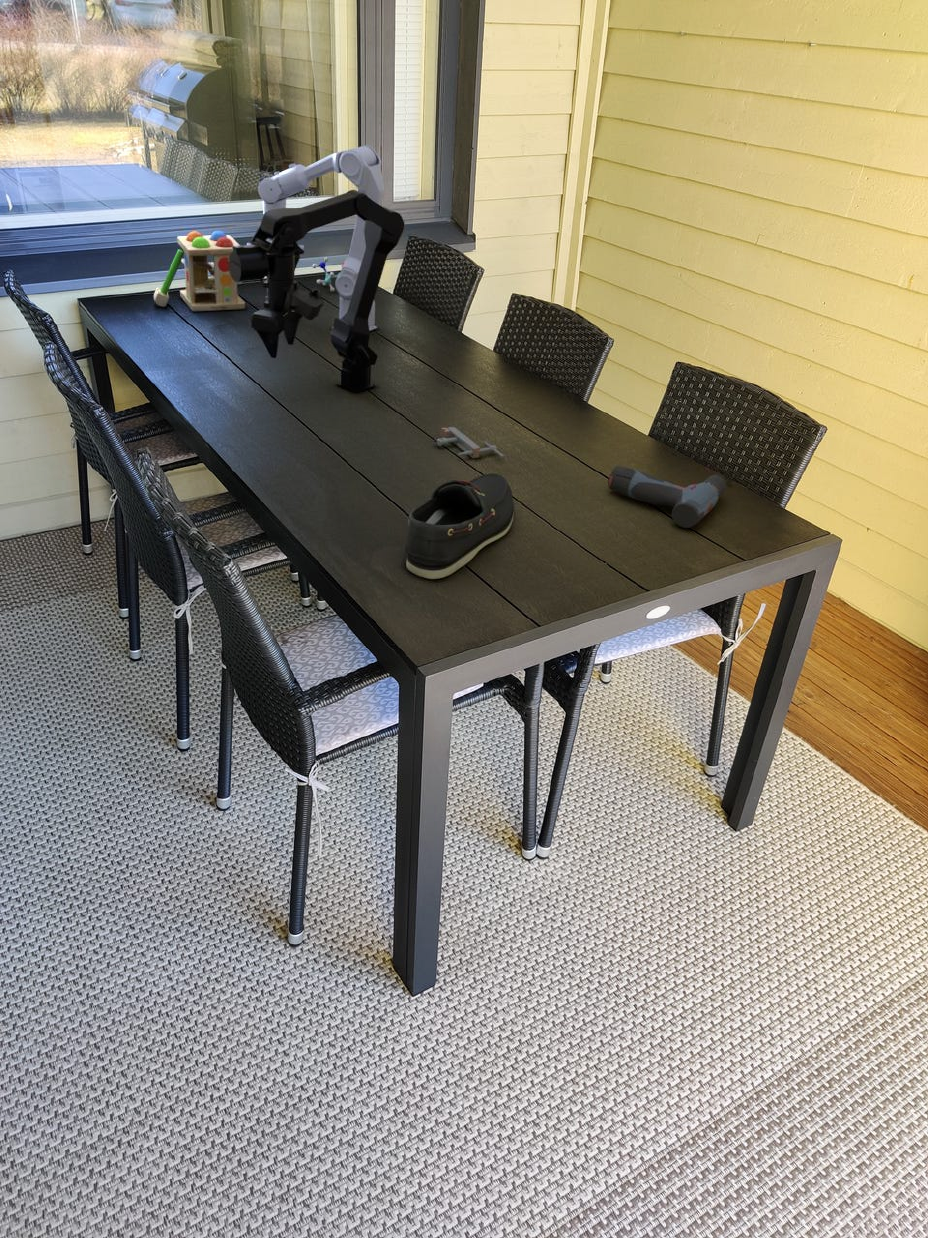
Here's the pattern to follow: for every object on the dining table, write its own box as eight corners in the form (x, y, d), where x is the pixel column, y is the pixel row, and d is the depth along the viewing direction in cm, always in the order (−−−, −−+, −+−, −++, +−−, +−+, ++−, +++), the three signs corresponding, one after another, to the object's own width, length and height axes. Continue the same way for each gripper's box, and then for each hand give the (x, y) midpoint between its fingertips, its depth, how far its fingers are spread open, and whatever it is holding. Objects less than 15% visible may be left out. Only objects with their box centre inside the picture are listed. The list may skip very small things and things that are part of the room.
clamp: (428, 429, 204) (470, 423, 208) (427, 439, 205) (469, 432, 209) (464, 459, 193) (507, 451, 198) (463, 469, 194) (506, 461, 199)
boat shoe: (539, 516, 182) (544, 464, 176) (440, 585, 158) (443, 528, 152) (480, 497, 187) (483, 446, 182) (376, 561, 163) (376, 505, 158)
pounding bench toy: (159, 313, 256) (153, 242, 246) (148, 297, 266) (141, 228, 256) (246, 308, 265) (243, 239, 255) (232, 293, 276) (228, 226, 266)
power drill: (637, 467, 202) (729, 498, 194) (598, 499, 188) (695, 533, 180) (642, 443, 199) (736, 473, 191) (602, 474, 185) (701, 507, 177)
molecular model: (344, 283, 280) (333, 248, 279) (317, 296, 284) (305, 261, 282) (361, 286, 290) (350, 252, 289) (334, 298, 294) (323, 265, 293)
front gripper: (300, 294, 193) (301, 371, 201) (333, 271, 208) (333, 343, 216) (247, 286, 194) (250, 362, 203) (284, 263, 209) (285, 335, 218)
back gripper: (246, 229, 247) (248, 284, 255) (304, 232, 250) (304, 286, 258) (246, 222, 253) (248, 276, 261) (303, 225, 256) (303, 278, 263)
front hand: (282, 350), depth 210 cm, fingers open, 9 cm apart
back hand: (276, 280), depth 260 cm, fingers open, 7 cm apart
